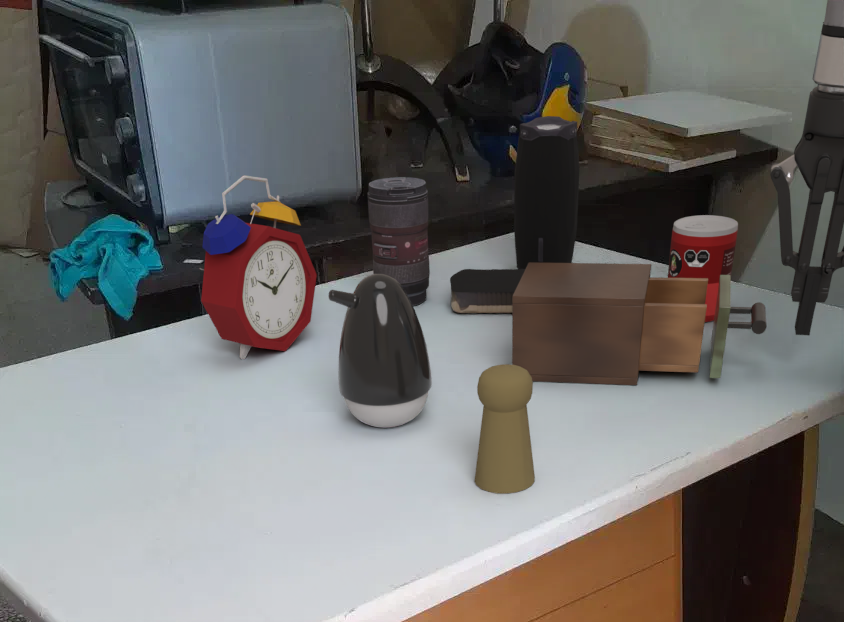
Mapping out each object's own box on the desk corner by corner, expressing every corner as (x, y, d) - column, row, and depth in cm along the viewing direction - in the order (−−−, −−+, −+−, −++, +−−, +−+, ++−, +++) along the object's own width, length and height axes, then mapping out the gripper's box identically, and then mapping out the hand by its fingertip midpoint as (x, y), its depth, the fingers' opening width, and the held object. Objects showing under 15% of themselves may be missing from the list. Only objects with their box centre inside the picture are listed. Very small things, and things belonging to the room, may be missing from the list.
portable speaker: (531, 263, 154) (535, 113, 141) (586, 271, 150) (594, 118, 137) (501, 278, 149) (502, 124, 136) (556, 287, 145) (563, 129, 132)
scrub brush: (570, 295, 142) (571, 267, 139) (566, 316, 135) (567, 287, 133) (455, 295, 144) (454, 268, 142) (446, 315, 138) (445, 287, 136)
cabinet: (643, 346, 126) (651, 263, 120) (636, 385, 117) (644, 298, 111) (527, 342, 129) (528, 262, 123) (511, 380, 120) (512, 296, 113)
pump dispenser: (330, 410, 116) (314, 268, 106) (416, 394, 118) (408, 254, 108) (355, 444, 109) (340, 296, 99) (446, 427, 111) (441, 280, 101)
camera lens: (438, 304, 142) (434, 185, 132) (382, 312, 140) (374, 192, 130) (423, 288, 148) (418, 172, 138) (369, 295, 146) (360, 179, 136)
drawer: (757, 343, 122) (769, 275, 117) (759, 380, 114) (772, 308, 109) (609, 339, 126) (613, 272, 121) (600, 374, 118) (605, 304, 112)
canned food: (653, 309, 136) (662, 219, 129) (707, 301, 137) (718, 211, 130) (681, 327, 130) (692, 234, 123) (736, 318, 132) (750, 226, 125)
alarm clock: (246, 370, 127) (217, 192, 113) (198, 357, 131) (165, 184, 118) (324, 333, 135) (305, 164, 122) (277, 323, 139) (254, 158, 126)
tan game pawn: (464, 473, 102) (462, 364, 95) (519, 461, 104) (521, 352, 96) (488, 498, 98) (488, 386, 91) (545, 485, 99) (549, 374, 92)
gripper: (917, 78, 101) (859, 321, 117) (780, 80, 104) (742, 317, 119) (927, 92, 96) (865, 345, 111) (783, 93, 98) (742, 340, 114)
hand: (801, 330), depth 115 cm, fingers closed
